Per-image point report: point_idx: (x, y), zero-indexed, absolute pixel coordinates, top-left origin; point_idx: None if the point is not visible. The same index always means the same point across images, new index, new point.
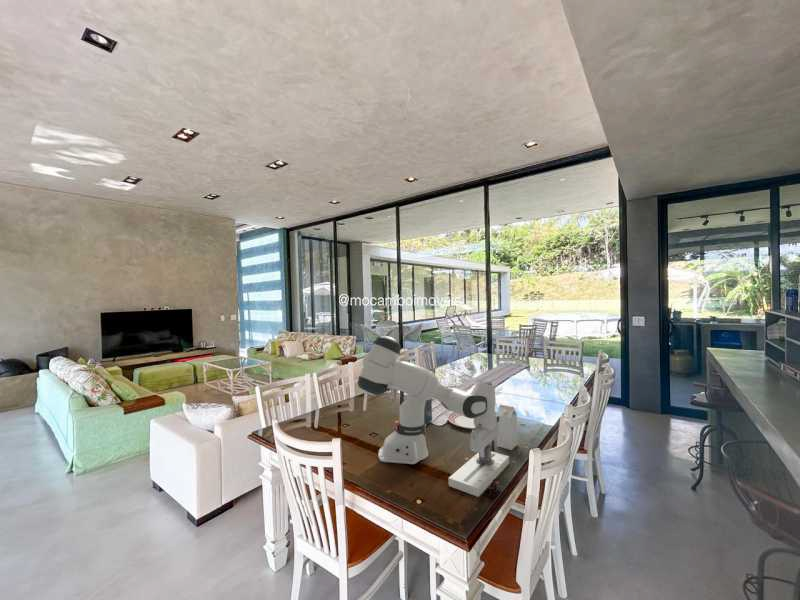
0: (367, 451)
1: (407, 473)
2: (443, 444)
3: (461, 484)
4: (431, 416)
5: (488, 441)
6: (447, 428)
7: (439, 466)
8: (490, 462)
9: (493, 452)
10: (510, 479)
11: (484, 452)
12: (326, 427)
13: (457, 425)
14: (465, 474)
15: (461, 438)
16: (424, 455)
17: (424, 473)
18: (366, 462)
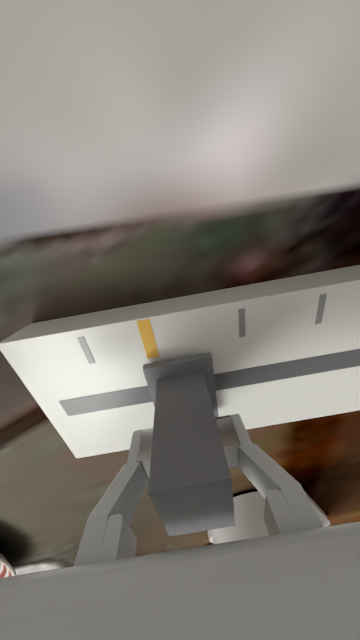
0: None
1: (352, 468)
2: (139, 511)
3: None
4: None
5: (229, 630)
6: (45, 551)
7: (269, 453)
8: (190, 366)
9: (53, 417)
10: (175, 222)
11: (246, 449)
12: None
13: (9, 565)
14: (358, 377)
15: (55, 512)
16: (258, 503)
17: (331, 450)
18: (342, 523)
